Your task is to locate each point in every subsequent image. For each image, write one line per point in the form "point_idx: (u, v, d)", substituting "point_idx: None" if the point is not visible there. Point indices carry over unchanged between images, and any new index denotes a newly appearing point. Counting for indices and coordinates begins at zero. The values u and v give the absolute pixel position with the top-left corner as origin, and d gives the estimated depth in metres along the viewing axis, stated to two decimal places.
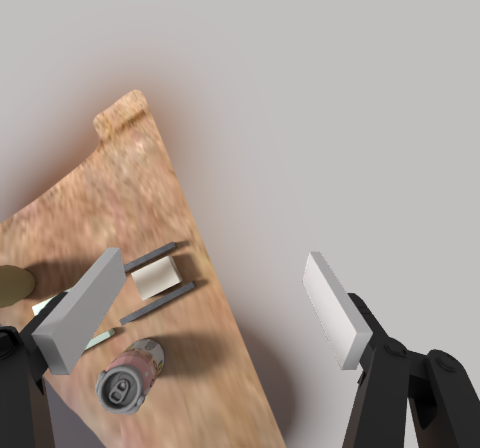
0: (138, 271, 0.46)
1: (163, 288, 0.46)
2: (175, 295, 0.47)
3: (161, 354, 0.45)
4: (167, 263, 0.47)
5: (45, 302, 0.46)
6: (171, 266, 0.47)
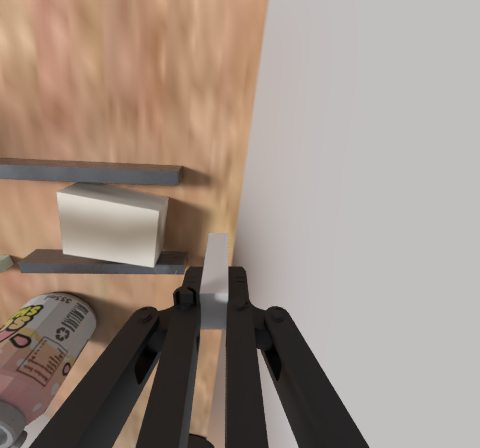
0: (76, 198, 0.18)
1: (116, 259, 0.21)
2: (142, 271, 0.23)
3: (90, 330, 0.27)
4: (148, 223, 0.20)
5: None
6: (154, 234, 0.20)
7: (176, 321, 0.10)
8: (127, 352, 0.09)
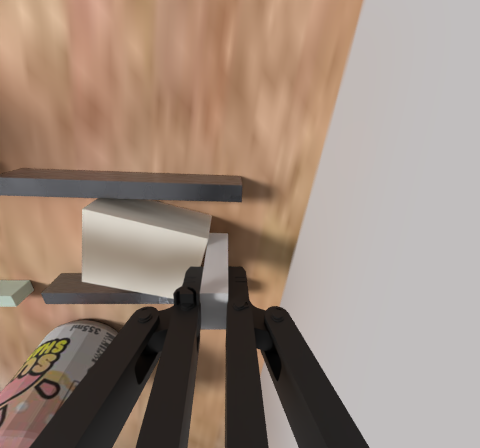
0: (107, 218, 0.14)
1: (146, 290, 0.17)
2: None
3: None
4: (193, 252, 0.16)
5: None
6: (197, 265, 0.16)
7: (176, 321, 0.10)
8: (127, 352, 0.09)
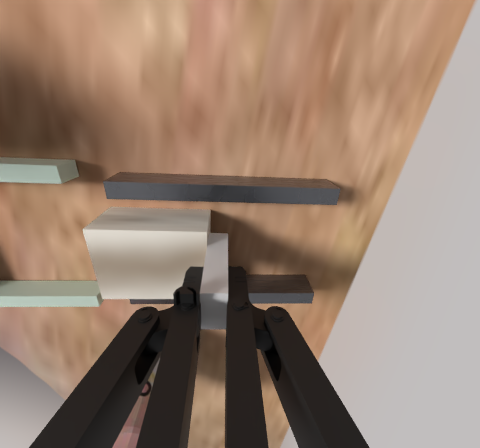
0: (106, 233, 0.15)
1: (163, 295, 0.17)
2: (266, 300, 0.20)
3: None
4: (196, 248, 0.16)
5: None
6: (204, 260, 0.16)
7: (176, 321, 0.10)
8: (127, 352, 0.09)
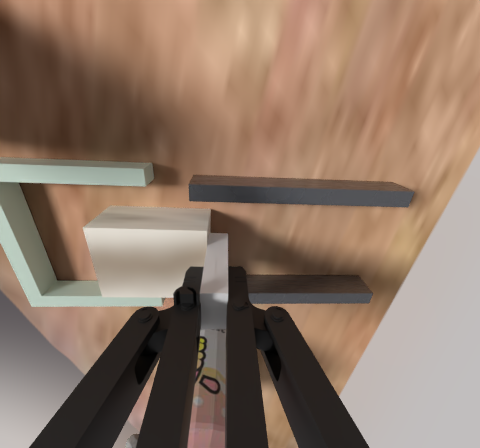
0: (107, 232, 0.15)
1: (163, 294, 0.17)
2: (325, 300, 0.21)
3: None
4: (196, 247, 0.16)
5: (7, 169, 0.15)
6: (204, 259, 0.16)
7: (176, 321, 0.10)
8: (127, 352, 0.09)
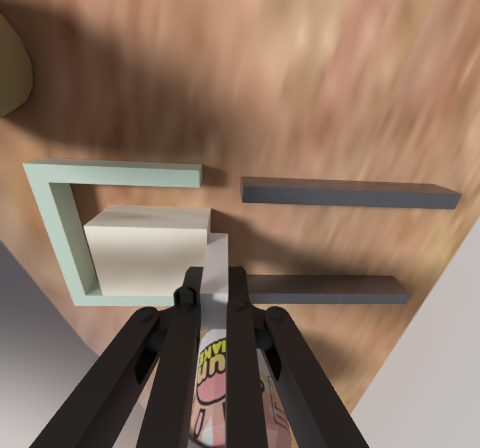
0: (107, 230, 0.15)
1: (163, 292, 0.18)
2: (363, 301, 0.21)
3: None
4: (196, 246, 0.16)
5: (66, 170, 0.15)
6: (204, 258, 0.16)
7: (176, 321, 0.10)
8: (127, 352, 0.09)
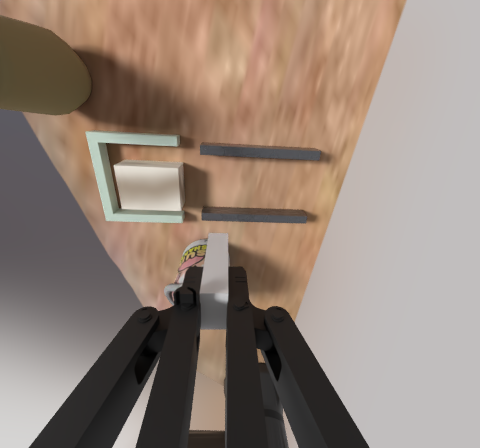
0: (126, 168, 0.29)
1: (155, 208, 0.31)
2: (279, 220, 0.35)
3: None
4: (172, 178, 0.30)
5: (107, 135, 0.28)
6: (177, 185, 0.30)
7: (176, 321, 0.10)
8: (127, 352, 0.09)
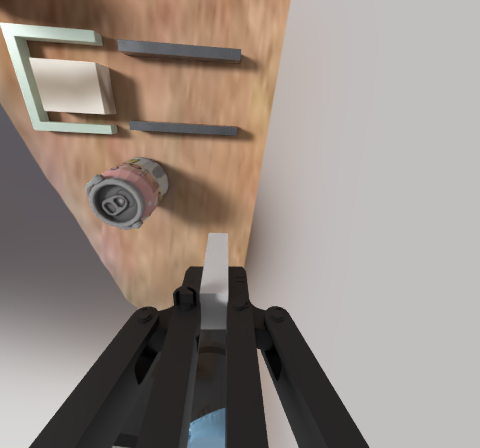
0: (41, 61, 0.29)
1: (78, 110, 0.31)
2: (209, 132, 0.34)
3: (166, 186, 0.38)
4: (91, 74, 0.30)
5: (22, 28, 0.28)
6: (97, 83, 0.30)
7: (176, 321, 0.10)
8: (127, 352, 0.09)
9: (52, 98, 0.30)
